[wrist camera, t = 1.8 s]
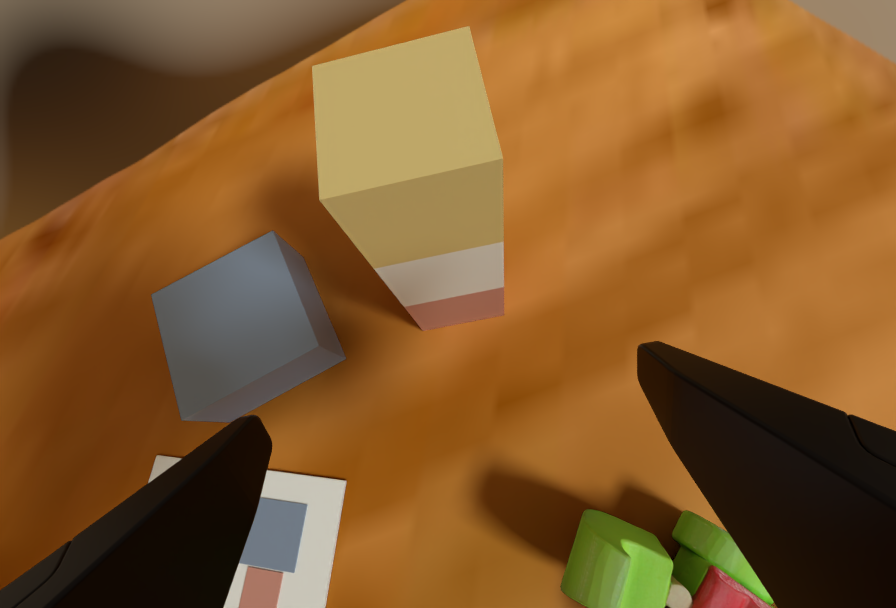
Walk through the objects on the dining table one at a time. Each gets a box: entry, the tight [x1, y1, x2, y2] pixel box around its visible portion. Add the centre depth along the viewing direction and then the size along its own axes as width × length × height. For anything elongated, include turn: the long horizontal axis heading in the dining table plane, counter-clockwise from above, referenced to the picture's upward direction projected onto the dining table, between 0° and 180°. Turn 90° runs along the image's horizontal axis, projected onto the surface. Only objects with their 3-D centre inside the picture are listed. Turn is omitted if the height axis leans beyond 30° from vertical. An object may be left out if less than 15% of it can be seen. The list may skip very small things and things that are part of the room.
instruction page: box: [148, 455, 346, 608], centre depth 21 cm, size 12×9×1 cm
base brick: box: [151, 231, 346, 422], centre depth 23 cm, size 8×8×4 cm
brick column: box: [312, 26, 504, 331], centre depth 18 cm, size 5×5×14 cm
